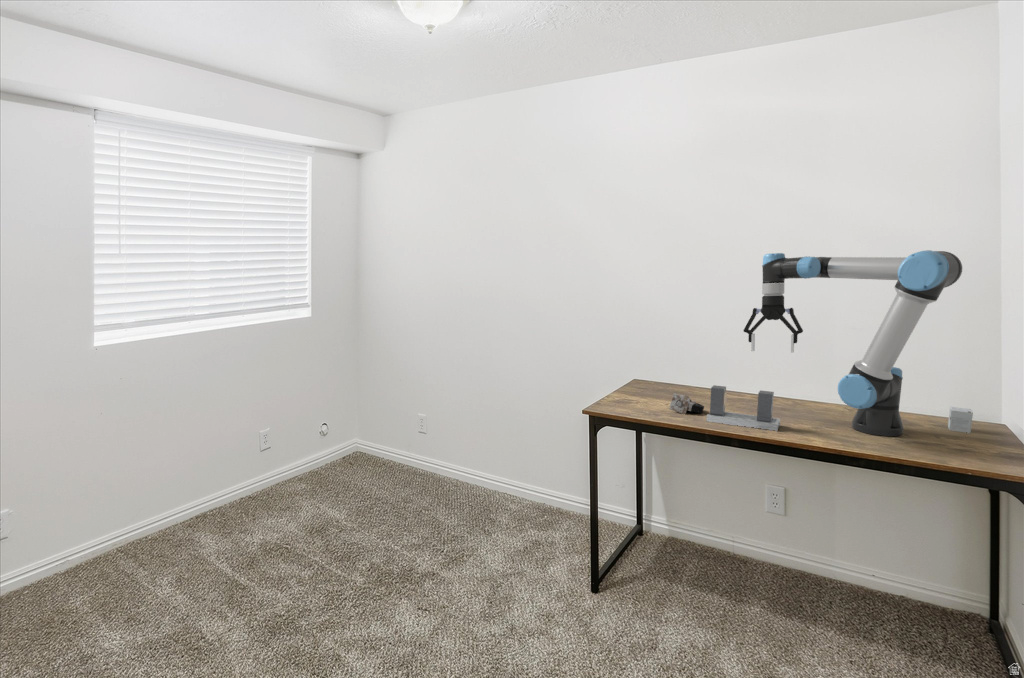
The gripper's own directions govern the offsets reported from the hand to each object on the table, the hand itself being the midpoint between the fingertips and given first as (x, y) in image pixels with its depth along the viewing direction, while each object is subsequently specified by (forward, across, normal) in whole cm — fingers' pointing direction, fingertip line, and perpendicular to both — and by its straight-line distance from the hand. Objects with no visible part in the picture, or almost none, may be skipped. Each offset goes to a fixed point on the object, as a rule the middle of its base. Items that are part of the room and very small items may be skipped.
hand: (772, 351), depth 214 cm
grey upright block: (+24, +1, +15) cm, 28 cm away
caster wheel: (+24, +29, +9) cm, 39 cm away
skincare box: (+28, -59, -16) cm, 67 cm away
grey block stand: (+25, +8, +15) cm, 30 cm away
